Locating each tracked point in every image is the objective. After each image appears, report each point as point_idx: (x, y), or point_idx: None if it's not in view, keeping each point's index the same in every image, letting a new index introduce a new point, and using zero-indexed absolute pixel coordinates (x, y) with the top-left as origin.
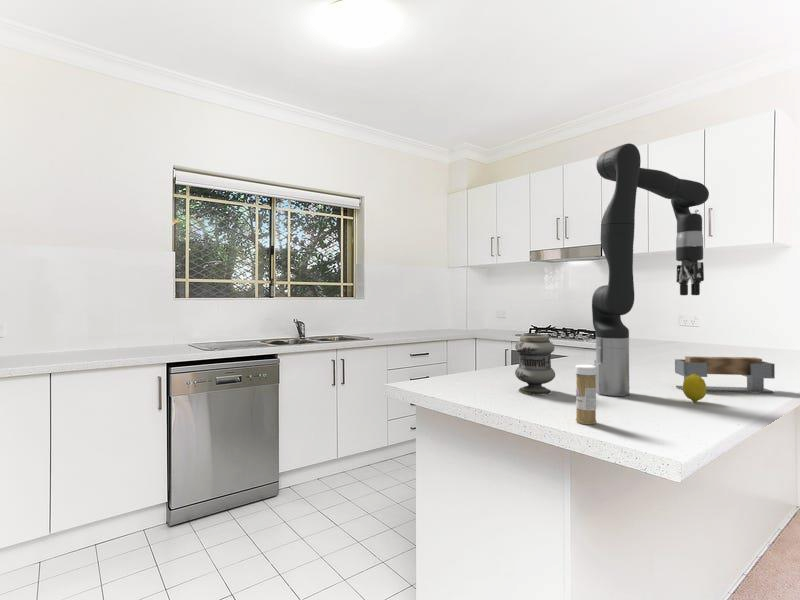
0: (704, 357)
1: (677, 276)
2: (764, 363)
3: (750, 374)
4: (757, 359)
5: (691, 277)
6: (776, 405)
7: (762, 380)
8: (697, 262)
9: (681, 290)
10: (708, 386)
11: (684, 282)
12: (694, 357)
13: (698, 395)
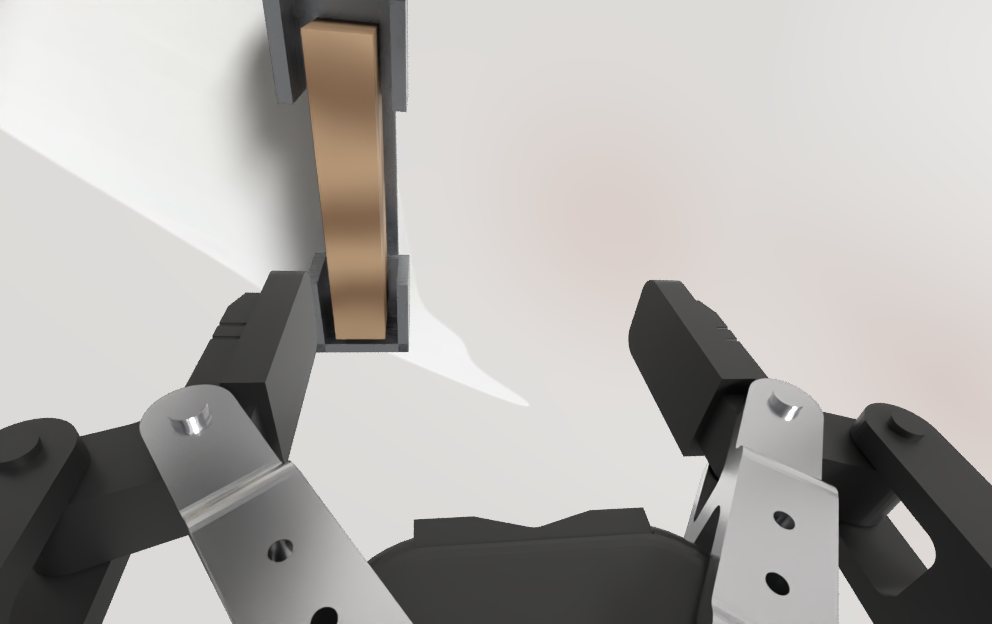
0: (341, 128)
1: (971, 509)
2: (320, 328)
3: (316, 259)
4: (335, 324)
5: (182, 491)
6: (106, 192)
7: None
8: None
9: (672, 320)
10: (394, 123)
11: (724, 451)
12: (327, 68)
13: None
